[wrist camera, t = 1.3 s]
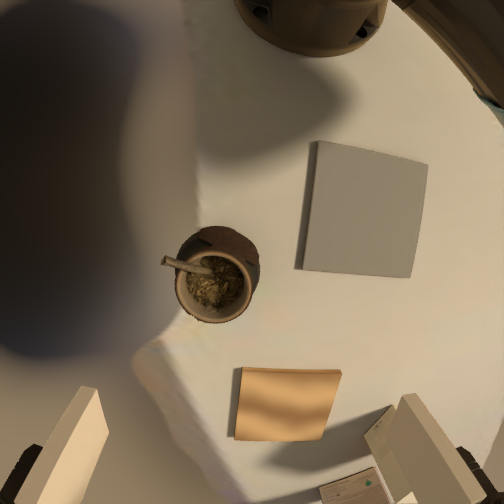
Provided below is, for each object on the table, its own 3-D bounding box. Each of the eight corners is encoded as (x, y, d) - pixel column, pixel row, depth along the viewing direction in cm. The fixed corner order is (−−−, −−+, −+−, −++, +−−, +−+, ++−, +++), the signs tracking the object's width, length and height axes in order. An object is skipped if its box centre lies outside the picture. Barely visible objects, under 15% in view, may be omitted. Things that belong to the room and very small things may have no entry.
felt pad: (317, 141, 28) (319, 140, 27) (425, 164, 28) (428, 164, 28) (301, 267, 30) (302, 269, 30) (407, 276, 31) (410, 278, 31)
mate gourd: (233, 310, 31) (231, 366, 21) (165, 272, 30) (134, 314, 20) (273, 248, 30) (289, 282, 20) (202, 206, 28) (183, 220, 19)
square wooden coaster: (242, 367, 32) (242, 371, 32) (339, 369, 33) (342, 373, 32) (234, 435, 35) (234, 440, 34) (319, 435, 36) (320, 440, 35)
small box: (362, 435, 36) (394, 504, 24) (392, 403, 35) (434, 470, 23) (397, 444, 38) (430, 504, 25) (425, 414, 37) (466, 472, 24)
